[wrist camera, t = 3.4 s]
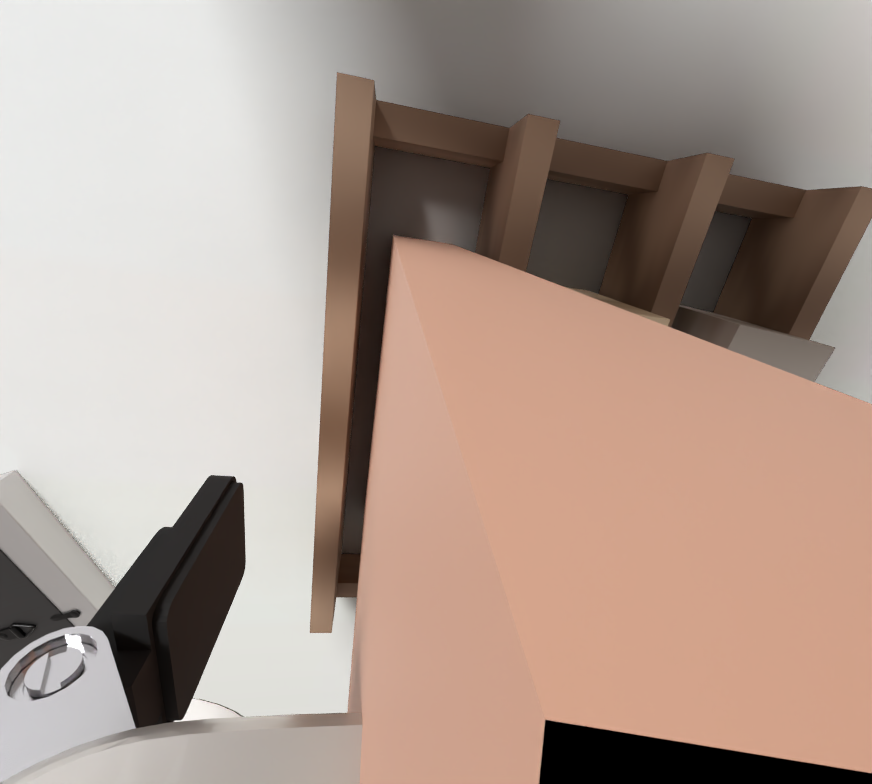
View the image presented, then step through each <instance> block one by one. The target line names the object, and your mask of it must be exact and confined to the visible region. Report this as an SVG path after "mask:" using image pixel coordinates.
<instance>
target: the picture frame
mask: <svg viewBox="0 0 872 784" xmlns="http://www.w3.org/2000/svg"><path fill="white" fill-rule="evenodd" d="M114 589H115V587H114V586H113V585H112V583H111V582H110V581H109V580H108V579H107V577H106V576H105V575H104V574H103V573H102V572H101V570H100V569H99V568H98V567H97V566H96V564H95V563H94V562H93V561H92V560H91V558H90V557H89V556H88V555H87V554H86V553H85V551H84V550H83V549H82V548H81V547H80V545H79V544H78V543H77V542H76V541H75V539H74V538H73V537H72V536H71V535H70V534H69V532H68V531H67V530H66V529H65V528H64V526H63V525H62V524H61V523H60V522H59V520H58V519H57V518H56V517H55V516H54V515H53V513H52V512H51V511H50V510H49V509H48V507H47V506H46V505H45V504H44V503H43V501H42V500H41V499H40V498H39V497H38V496H37V494H36V493H35V492H34V491H33V490H32V488H31V487H30V486H29V485H28V484H27V482H26V481H25V480H24V479H23V478H22V477H21V475H20V474H19V473H18V472H17V471H16V470H14V471H10V472H7V473H3V474H0V670H1V668H2V667H3V666H4V665H5V664H6V663H7V662H8V661H9V660H10V659H11V658H12V657H13V656H14V655H15V654H16V653H18V652H19V651H21V650H22V649H23V648H25V647H26V646H27V645H29V644H30V643H32V642H34V641H36V640H38V639H39V638H41V637H43V636H45V635H47V634H50V633H52V632H55V631H58V630H61V629H64V628H69V627H75V626H87V625H88V623H89V622H90V621H91V619H92V618H93V617H94V615H95V614H96V613H97V611H98V610H99V609H100V607H101V606H102V605H103V603H104V602H105V601H106V599H107V598H108V597H109V595H110V594H111V593H112V591H113V590H114Z"/></svg>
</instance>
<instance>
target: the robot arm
mask: <svg viewBox="0 0 872 784" xmlns="http://www.w3.org/2000/svg"><path fill="white" fill-rule="evenodd" d="M245 562H246V560H245V525H244V490H243V484H242V483H236V478H235V477H232V476H215V475H211V476H209V477H208V478H207V480H206V481H205V482H204V484H203V485H202V487H201V488H200V489H199V491H198V492H197V494H196V495H195V496H194V498H193V499H192V501H191V502H190V503H189V505H188V506H187V508H186V509H185V510H184V512H183V513H182V515H181V516H180V517H179V519H178V520H177V522H176V523H175V524H174V526H173V527H164V528H162V529H160V530H159V531H158V532H157V533H156V534H155V536H154V537H153V538H152V540H151V541H150V542H149V544H148V545H147V546H146V548H145V549H144V550H143V552H142V553H141V554H140V556H139V557H138V558H137V560H136V561H135V562H134V564H133V565H132V566H131V568H130V569H129V570H128V572H127V573H126V574H125V576H124V577H123V578H122V579H121V581H120V582H119V583H118V585H117V586H116V587H115V589H114V590H113V591H112V593H111V594H110V595H109V597H108V598H107V599H106V601H105V602H104V603H103V605H102V606H101V607H100V609H99V610H98V611H97V613H96V614H95V615H94V617H93V618H92V619H91V621H90V622H89V623H88V625H87V626H75V627H69V628H64V629H61V630H58V631H55V632H52V633H50V634H47V635H45V636H43V637H41V638H39V639H38V640H36V641H34V642H32V643H30V644H29V645H27V646H26V647H25V648H23V649H22V650H21V651H19V652H18V653H16V654H15V655H14V656H13V657H12V658H11V659H10V660H9V661H8V662H7V663H6V664H5V665H4V666H3V667H2V668H1V670H0V784H360V765H361V744H362V714H361V712H360V713H327V714H295V715H273V716H253V717H232V718H212V719H201V720H191V721H181V722H174V721H178V720H182V719H183V718H184V716H185V714H186V712H187V710H188V708H189V705H190V703H191V700H192V698H193V696H194V693H195V691H196V688H197V686H198V684H199V681H200V679H201V676H202V674H203V671H204V669H205V667H206V664H207V662H208V659H209V657H210V655H211V652H212V650H213V647H214V645H215V643H216V640H217V638H218V635H219V633H220V631H221V628H222V626H223V623H224V621H225V619H226V616H227V614H228V611H229V609H230V606H231V604H232V602H233V599H234V597H235V594H236V592H237V590H238V587H239V585H240V582H241V580H242V577H243V574H244V570H245ZM539 784H608V781H607V779H606V776H605V774H604V771H603V769H602V766H601V764H600V761H599V759H598V756H597V754H596V752H595V749H594V747H593V744H592V742H591V739H590V737H589V734H588V732H587V729H586V727H585V726H581V725H575V724H569V723H563V722H557V721H551V720H545V727H544V737H543V747H542V757H541V767H540V778H539Z"/></svg>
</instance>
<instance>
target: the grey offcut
mask: <svg viewBox="0 0 872 784" xmlns="http://www.w3.org/2000/svg"><path fill="white" fill-rule="evenodd" d="M671 328H673V329H676V330H679V331H681V332H684V333H686V334H689V335H692V336H694V337H697V338H699V339H702V340H705V341H707V342H710V343H713V344H715V345H718V346H720V347H723V348H726V349H728V350H731V351H734V352H736V353H739V354H741V355H744V356H747V357H749V358H752V359H755V360H757V361H760V362H762V363H765V364H768V365H770V366H773V367H775V368H778V369H781V370H783V371H786V372H789V373H791V374H794V375H796V376H799V377H802V378H804V379H807V380H810V381H812V382H815V380H816V378H817V377H818V375H819V374H820V372H821V370H822V369H823V367H824V366H825V364H826V362H827V361H828V359H829V357H830V356H831V354H832V353H833V351H834V349H835V347H831V346H828V345H824V344H821V343H817V342H814V341H810V340H807V339H803V338H800V337H796V336H793V335H789V334H786V333H783V332H779V331H776V330H772V329H769V328H765V327H762V326H758V325H755V324H751V323H748V322H744V321H741V320H737V319H734V318H730V317H727V316H723V315H720V314H716V313H713V312H709V311H705V310H701V309H697V308H692V307H688V306H684V305H679V308H678V311H677V313H676V316H675V318H674V321H673V324H672V326H671Z"/></svg>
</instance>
